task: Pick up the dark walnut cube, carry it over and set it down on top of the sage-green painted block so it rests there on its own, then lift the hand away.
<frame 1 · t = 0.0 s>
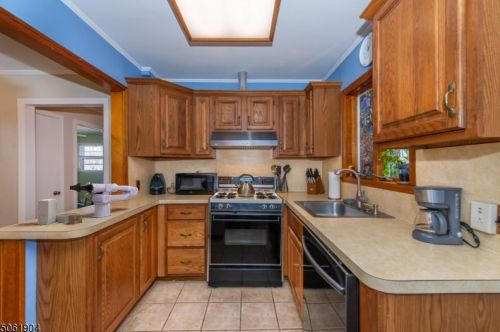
hand: (74, 188, 152), 22 cm above the countertop, tool horizontal, fingers open, 7 cm apart
walnut cube: (75, 223, 150), on the countertop
sage block: (67, 220, 158), on the countertop
skincare box: (47, 223, 149), on the countertop
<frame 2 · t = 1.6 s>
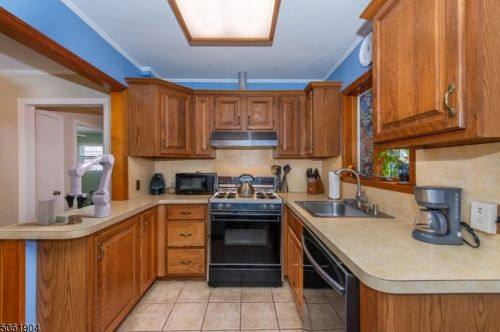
hand: (75, 208, 150), 9 cm above the countertop, tool pointing down, fingers open, 7 cm apart
nothing on the countertop moved.
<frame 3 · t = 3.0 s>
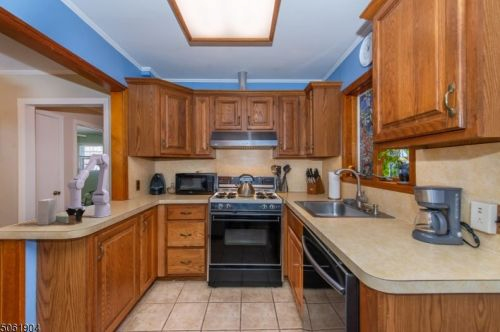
hand: (75, 220, 150), 1 cm above the countertop, tool pointing down, fingers closed on walnut cube, 5 cm apart
walnut cube: (75, 223, 150), on the countertop, touching gripper
everything else where it was.
when the fingers open (6 cm above the countertop, at t = 6.1 s): walnut cube drops 1 cm, resting on sage block.
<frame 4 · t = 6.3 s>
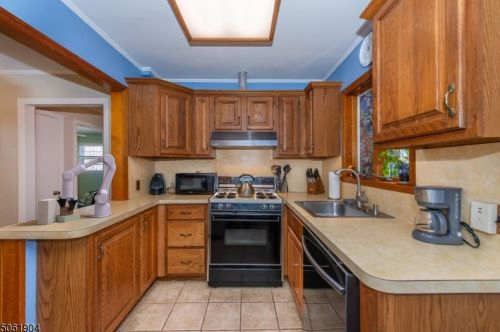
hand: (67, 210, 158), 6 cm above the countertop, tool pointing down, fingers open, 7 cm apart
walnut cube: (66, 214, 157), point 4 cm above the countertop, touching sage block
sage block: (67, 220, 158), on the countertop, touching walnut cube
everything else where it was.
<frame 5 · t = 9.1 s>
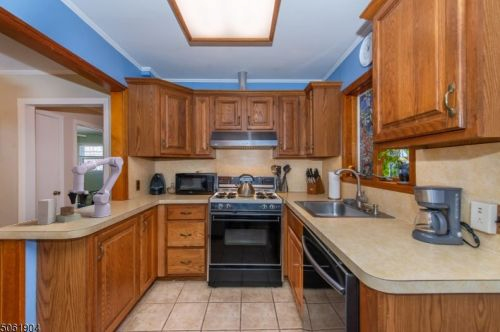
hand: (77, 204, 157), 10 cm above the countertop, tool pointing down, fingers open, 7 cm apart
walnut cube: (67, 214, 157), point 4 cm above the countertop
sage block: (67, 220, 158), on the countertop
everything else where it was.
at the end: walnut cube 0.3 cm off-centre on the sage block, point 4.0 cm above the sage block's base; the gripper is holding nothing; walnut cube tilted 0° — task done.
